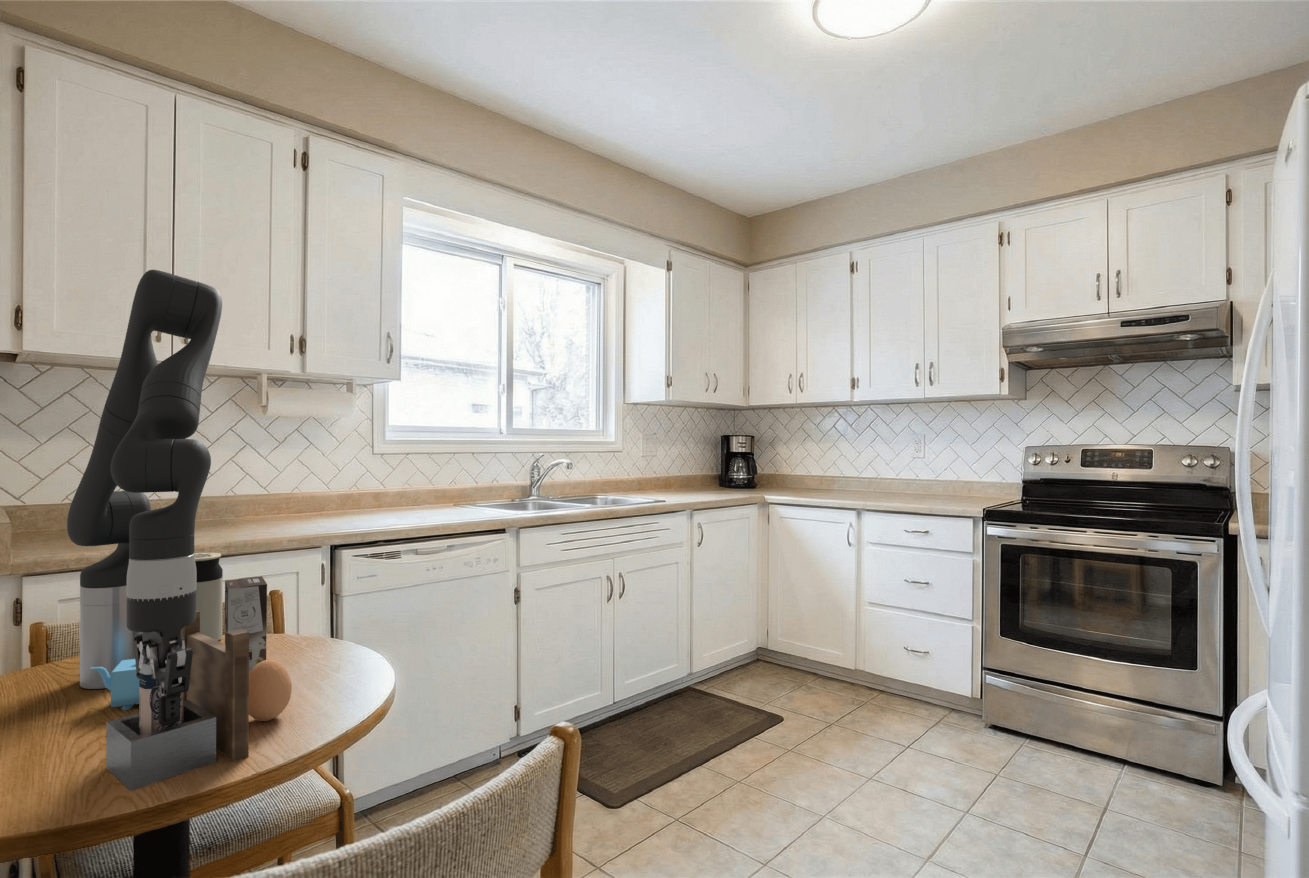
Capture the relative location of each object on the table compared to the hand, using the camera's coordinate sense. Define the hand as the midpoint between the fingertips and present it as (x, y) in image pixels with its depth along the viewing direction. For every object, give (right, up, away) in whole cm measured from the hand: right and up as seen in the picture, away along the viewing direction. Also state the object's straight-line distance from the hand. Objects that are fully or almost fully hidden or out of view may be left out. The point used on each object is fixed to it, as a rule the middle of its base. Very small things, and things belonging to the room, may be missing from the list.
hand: (161, 717), depth 91 cm
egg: (+6, -6, +14) cm, 17 cm away
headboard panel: (+2, -6, +7) cm, 10 cm away
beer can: (0, -5, 0) cm, 5 cm away
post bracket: (0, -6, 0) cm, 6 cm away
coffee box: (-11, -6, +37) cm, 39 cm away
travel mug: (-30, -6, +52) cm, 60 cm away
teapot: (-19, -6, +20) cm, 28 cm away
